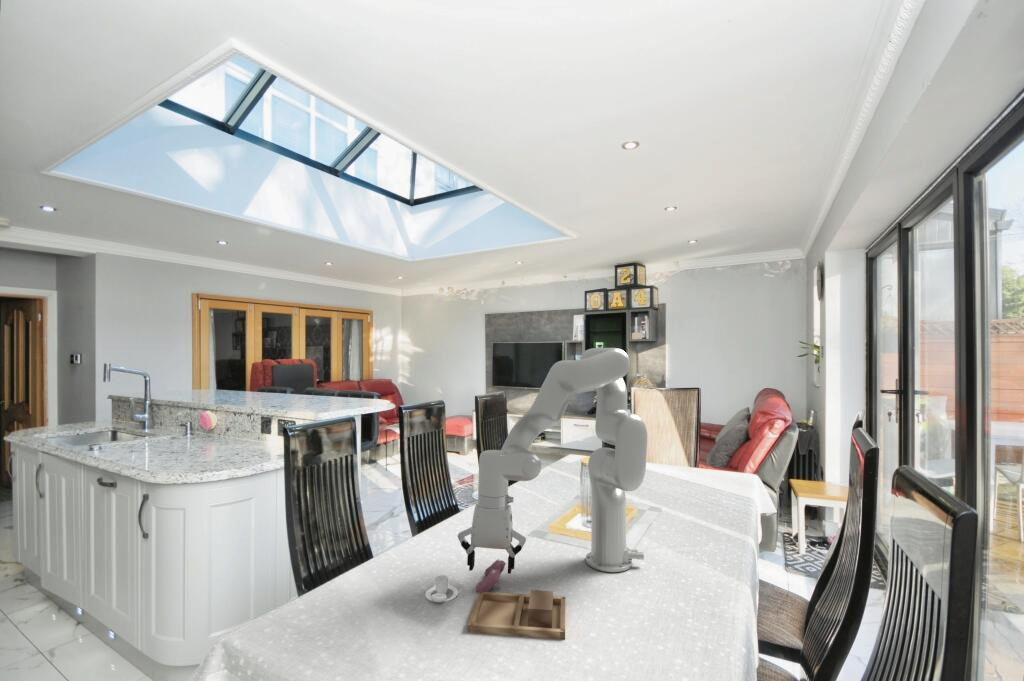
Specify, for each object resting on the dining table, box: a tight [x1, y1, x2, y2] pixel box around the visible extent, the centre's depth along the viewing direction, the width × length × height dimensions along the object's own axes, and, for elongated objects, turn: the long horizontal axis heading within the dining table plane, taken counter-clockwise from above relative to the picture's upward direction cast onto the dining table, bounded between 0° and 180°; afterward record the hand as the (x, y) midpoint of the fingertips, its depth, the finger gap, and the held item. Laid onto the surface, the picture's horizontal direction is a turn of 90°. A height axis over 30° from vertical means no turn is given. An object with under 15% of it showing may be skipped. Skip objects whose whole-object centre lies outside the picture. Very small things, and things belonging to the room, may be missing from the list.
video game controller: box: [475, 558, 507, 593], centre depth 117 cm, size 10×5×7 cm, turn 169°
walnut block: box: [528, 589, 554, 628], centre depth 102 cm, size 5×8×4 cm, turn 173°
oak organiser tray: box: [467, 591, 566, 640], centre depth 102 cm, size 20×14×2 cm
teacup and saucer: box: [424, 574, 460, 603], centre depth 113 cm, size 9×8×4 cm
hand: (490, 569), depth 117 cm, fingers open, 9 cm apart
